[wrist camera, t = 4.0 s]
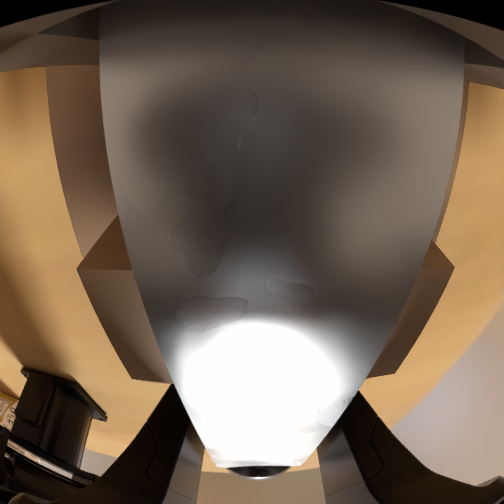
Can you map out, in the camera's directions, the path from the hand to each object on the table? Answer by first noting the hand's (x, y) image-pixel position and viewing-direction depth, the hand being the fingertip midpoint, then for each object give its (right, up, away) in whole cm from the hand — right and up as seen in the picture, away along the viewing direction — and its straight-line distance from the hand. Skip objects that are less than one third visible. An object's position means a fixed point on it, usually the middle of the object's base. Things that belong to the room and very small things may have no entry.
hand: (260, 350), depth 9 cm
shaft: (0, +4, -3) cm, 5 cm away
